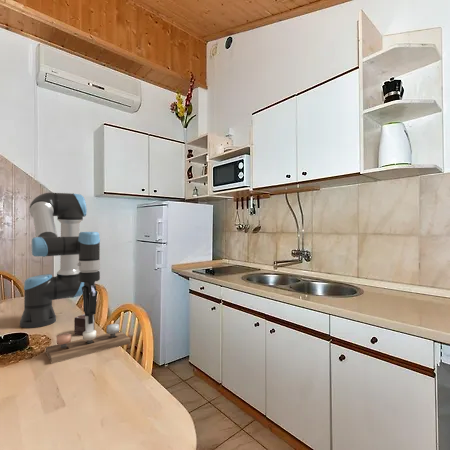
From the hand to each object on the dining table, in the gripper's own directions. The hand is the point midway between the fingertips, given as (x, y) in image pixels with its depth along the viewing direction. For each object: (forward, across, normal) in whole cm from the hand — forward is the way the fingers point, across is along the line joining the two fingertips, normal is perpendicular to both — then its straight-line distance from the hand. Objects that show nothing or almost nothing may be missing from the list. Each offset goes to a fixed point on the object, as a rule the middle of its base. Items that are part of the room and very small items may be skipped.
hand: (89, 331), depth 117 cm
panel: (+6, 0, 0) cm, 6 cm away
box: (+7, -20, +3) cm, 21 cm away
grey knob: (+4, 0, +9) cm, 10 cm away
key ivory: (+5, 0, 0) cm, 5 cm away
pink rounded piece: (+4, 0, -9) cm, 10 cm away
